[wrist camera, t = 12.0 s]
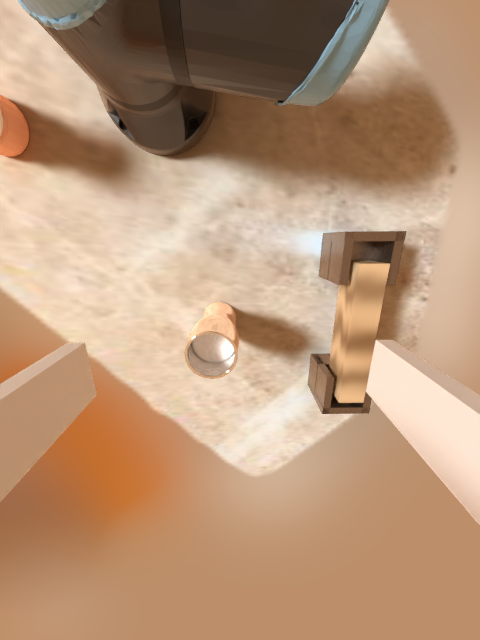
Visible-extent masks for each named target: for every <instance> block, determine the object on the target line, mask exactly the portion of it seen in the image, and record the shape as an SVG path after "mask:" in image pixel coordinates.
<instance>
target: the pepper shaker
mask: <svg viewBox="0 0 480 640" xmlns="http://www.w3.org/2000/svg"><path fill="white" fill-rule="evenodd" d="M28 142H29V129H28V125H27V122H26V120H25V118H24V116H23V114H22V112H21V111H20V110H19V109H18V108H17V106H16V105H15V104H13V103H12V102H11V101H9V100H8V99H6V98H5V97H3V96H2V95H0V154H1V155H4V156H7V157H14V156H17V155H19V154H21V153H22V152H23V151H24V150H25V149H26V147H27V145H28Z"/></svg>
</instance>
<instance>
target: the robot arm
mask: <svg viewBox="0 0 480 640" xmlns="http://www.w3.org/2000/svg"><path fill="white" fill-rule="evenodd" d="M18 2H19V3H20V5H21V6H22V7H23V9H24V10H25V11H26V12H27V13H28V14H29V15H30V16H31V17H33V18H34V19H36V20H37V21H38V22H39V23H40V24H41V26H42V27H43V28H44V29H45V30H46V31H47V32H48V33H49V34H50V35H51V36H52V37H53V38H54V39H55V41H56V42H57V43H58V44H59V45H60V46H61V47H62V48H63V49H64V50H65V51H66V52H67V53H68V54H69V56H70V57H71V58H72V59H73V60H74V61H75V62H76V63H77V64H78V65H79V66H80V67H81V68H82V69H83V71H84V72H85V73H86V74H87V75H88V76H89V77H90V78H91V79H92V80H93V81H94V82H95V83H96V85H97V88H98V90H99V93H100V96H101V98H102V101H103V104H104V106H105V108H106V110H107V112H108V114H109V115H110V117H111V119H112V120H113V122H114V123H115V124H116V126H117V127H118V128H119V129H120V131H121V132H122V133H123V134H124V135H125V136H126V137H128V138H129V139H130V140H131V141H132V142H133V143H134V144H136V145H137V146H138V147H140V148H142V149H143V150H145V151H148V152H150V153H153V154H157V155H175V154H179V153H182V152H184V151H186V150H188V149H190V148H191V147H193V146H194V145H195V144H196V143H197V142H198V141H199V140H200V139H201V138H202V137H203V135H204V134H205V132H206V130H207V129H208V127H209V125H210V122H211V119H212V116H213V112H214V107H215V98H216V92H220V93H226V94H232V95H237V96H243V97H249V98H255V99H261V100H266V101H272V102H274V103H275V105H279V106H284V105H287V104H294V105H303V106H317V105H320V104H322V103H323V102H324V101H326V100H327V99H329V98H331V97H332V96H333V95H334V94H335V93H336V92H337V91H338V90H339V89H340V87H341V86H342V85H343V84H344V82H345V81H346V80H347V78H348V77H349V75H350V74H351V72H352V71H353V69H354V68H355V66H356V64H357V63H358V61H359V59H360V58H361V56H362V54H363V52H364V51H365V49H366V47H367V45H368V43H369V41H370V39H371V37H372V35H373V34H374V32H375V30H376V28H377V26H378V24H379V21H380V19H381V17H382V15H383V13H384V11H385V9H386V7H387V4H388V2H389V0H18ZM366 392H367V393H368V395H369V396H370V397H371V398H372V399H373V401H374V402H375V403H376V404H377V405H378V406H379V407H380V409H381V410H382V411H383V412H384V413H385V415H386V416H387V417H388V418H389V419H390V420H391V422H392V423H393V424H394V425H395V426H396V428H397V429H398V430H399V431H400V432H401V433H402V435H403V436H404V437H405V438H406V439H407V441H408V442H409V443H410V444H411V445H412V446H413V448H414V449H415V450H416V451H417V452H418V453H419V455H420V456H421V457H422V458H423V459H424V460H425V462H426V463H427V464H428V465H429V466H430V468H431V469H432V470H433V471H434V472H435V473H436V474H437V476H438V477H439V478H440V479H441V481H442V482H443V483H444V484H445V485H446V486H447V488H448V489H449V490H450V491H451V492H452V493H453V495H454V496H455V497H456V498H457V499H458V501H459V502H460V503H461V504H462V505H463V506H464V508H465V509H466V510H467V511H468V512H469V513H470V514H471V516H472V517H473V518H474V519H475V520H476V522H477V523H478V524H479V525H480V395H478V394H476V393H475V392H473V391H472V390H470V389H469V388H467V387H465V386H464V385H462V384H461V383H459V382H458V381H456V380H455V379H453V378H452V377H450V376H448V375H447V374H445V373H444V372H442V371H441V370H439V369H437V368H436V367H434V366H433V365H431V364H430V363H428V362H426V361H425V360H423V359H422V358H420V357H419V356H417V355H416V354H414V353H413V352H411V351H410V350H408V349H406V348H405V347H403V346H402V345H400V344H399V343H397V342H395V341H394V340H376V341H375V346H374V352H373V357H372V362H371V367H370V372H369V377H368V383H367V388H366ZM96 395H97V393H96V389H95V384H94V380H93V376H92V372H91V367H90V363H89V359H88V354H87V350H86V346H85V343H67V344H65V345H63V346H62V347H60V348H58V349H57V350H55V351H54V352H52V353H50V354H49V355H47V356H45V357H44V358H42V359H40V360H39V361H37V362H36V363H34V364H32V365H31V366H29V367H27V368H26V369H24V370H22V371H21V372H19V373H17V374H16V375H14V376H13V377H11V378H9V379H8V380H6V381H4V382H3V383H1V384H0V502H1V501H2V500H3V498H4V497H5V496H6V495H7V494H8V493H9V492H10V491H11V490H12V488H13V487H14V486H15V485H16V484H17V483H18V482H19V481H20V480H21V478H22V477H23V476H24V475H25V474H26V473H27V472H28V471H29V470H30V469H31V467H32V466H33V465H34V464H35V463H36V462H37V461H38V460H39V459H40V457H41V456H42V455H43V454H44V453H45V452H46V451H47V450H48V448H49V447H50V446H51V445H52V444H53V443H54V442H55V441H56V440H57V439H58V437H59V436H60V435H61V434H62V433H63V432H64V431H65V430H66V429H67V427H68V426H69V425H70V424H71V423H72V422H73V421H74V420H75V418H76V417H77V416H78V415H79V414H80V413H81V412H82V411H83V410H84V409H85V407H86V406H87V405H88V404H89V403H90V402H91V401H92V400H93V399H94V398H95V396H96Z"/></svg>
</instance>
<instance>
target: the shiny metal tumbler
mask: <svg viewBox="0 0 480 640" xmlns="http://www.w3.org/2000/svg"><path fill="white" fill-rule="evenodd" d="M235 323H236V314H235V311H234V310H233V308H232V307H231V306H229V305H228V304H226V303H222V302H216V303H213V304H211V305H209V306H208V307H207V308H206V309H205V311H204V313H203V318H202V319H201V320H200V321H199V322H198V323H197V324H196V325H195V326H194V328H193V330H192V331H191V334H190V336H189V339H188V343H187V346H186V349H185V360H186V363H187V365H188V366H189V368H190V369H191V370H192V371H193V372H194V373H196V374H197V375H199V376H201V377H204V378H210V379H214V378H220V377H223V376H225V375H227V374H228V373H229V372H231V371H232V369H233V368H234V367H235V365H236V362H237V358H238V350H239V336H238V332H237V329H236V326H235Z"/></svg>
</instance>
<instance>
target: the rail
mask: <svg viewBox="0 0 480 640" xmlns="http://www.w3.org/2000/svg"><path fill="white" fill-rule="evenodd" d="M389 267H390V264H389V263H383V262H377V261H370V260H351V264H350V271H349V278H348V285H339V292H338V300H337V308H336V315H335V323H334V331H333V339H332V346H331V354H330V362H329V371H330V372H331V374H332V375H333V377H334V385H333V392H332V393H333V394H334V396H335V397H336V399H337V401H338V402H339V403H364V397H365V392H366V387H367V382H368V377H369V371H370V366H371V361H372V356H373V351H374V345H375V340H376V335H377V330H378V325H379V319H380V314H381V309H382V304H383V299H384V293H385V288H386V283H387V278H388V273H389Z"/></svg>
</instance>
